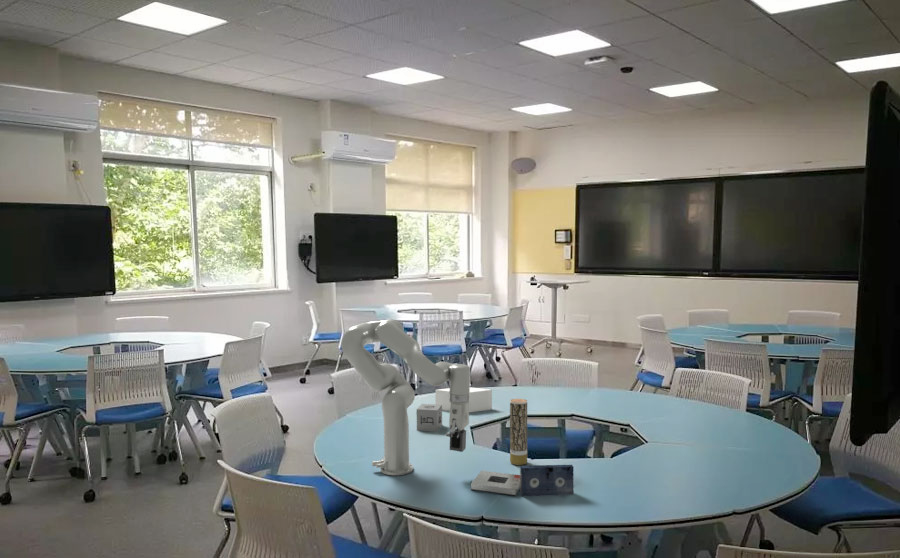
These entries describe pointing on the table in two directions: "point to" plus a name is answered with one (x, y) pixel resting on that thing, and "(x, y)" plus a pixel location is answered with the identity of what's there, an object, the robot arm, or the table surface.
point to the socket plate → (496, 483)
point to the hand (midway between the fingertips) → (457, 445)
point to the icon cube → (429, 417)
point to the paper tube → (518, 431)
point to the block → (477, 399)
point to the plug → (462, 441)
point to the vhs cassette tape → (546, 480)
